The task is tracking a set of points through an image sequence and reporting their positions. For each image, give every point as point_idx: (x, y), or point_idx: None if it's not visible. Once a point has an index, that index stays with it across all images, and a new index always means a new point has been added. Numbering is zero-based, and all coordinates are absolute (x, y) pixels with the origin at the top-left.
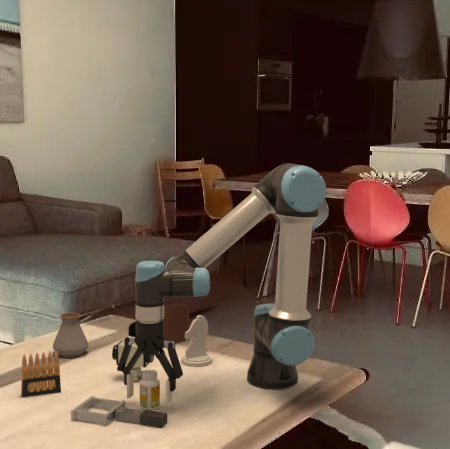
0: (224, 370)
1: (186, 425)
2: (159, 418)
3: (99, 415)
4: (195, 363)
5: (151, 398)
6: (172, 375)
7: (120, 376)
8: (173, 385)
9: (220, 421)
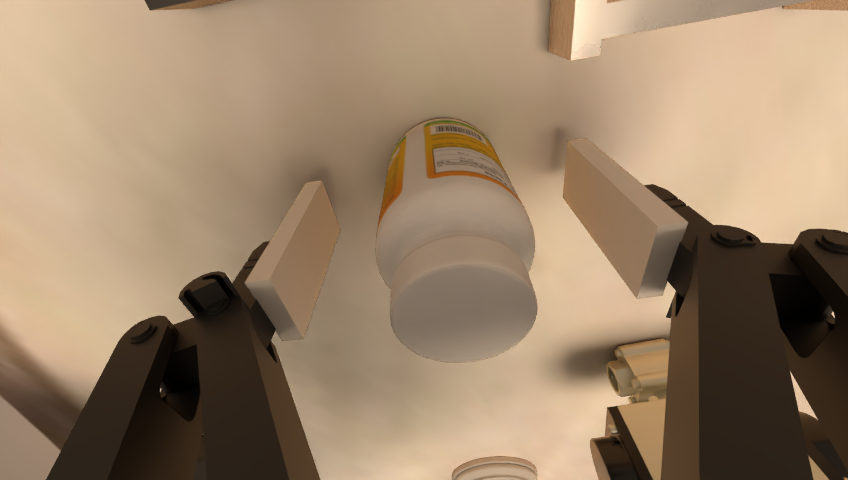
0: (394, 466)
1: (73, 35)
2: None
3: None
4: (481, 470)
5: (401, 158)
6: (200, 333)
7: None
8: (243, 271)
9: (25, 184)
